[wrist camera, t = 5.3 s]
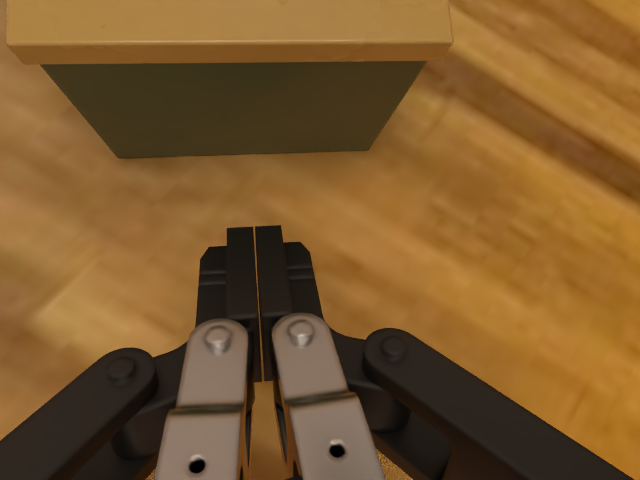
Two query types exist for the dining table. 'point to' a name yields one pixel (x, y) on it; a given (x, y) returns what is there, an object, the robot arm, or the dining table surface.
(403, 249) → the dining table surface
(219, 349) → the robot arm
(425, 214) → the dining table surface
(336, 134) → the tea tin
